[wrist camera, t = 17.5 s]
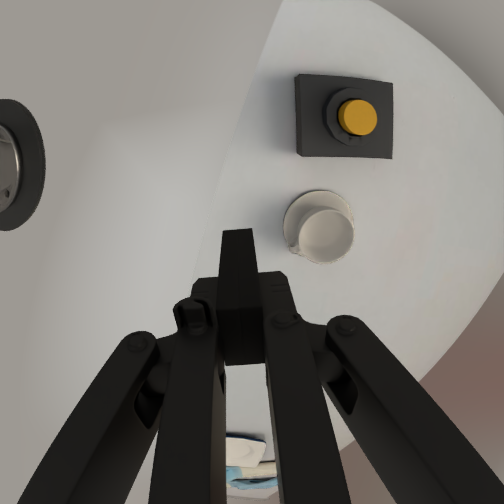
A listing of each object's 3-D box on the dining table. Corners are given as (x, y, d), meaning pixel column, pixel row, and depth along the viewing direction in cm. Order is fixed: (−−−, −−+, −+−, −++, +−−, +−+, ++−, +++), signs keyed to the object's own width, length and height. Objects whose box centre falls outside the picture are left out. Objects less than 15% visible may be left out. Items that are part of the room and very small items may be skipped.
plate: (190, 457, 71) (189, 464, 68) (187, 427, 62) (186, 436, 60) (258, 461, 73) (258, 468, 70) (269, 432, 64) (270, 440, 61)
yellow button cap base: (296, 153, 36) (304, 158, 31) (294, 77, 32) (302, 71, 27) (381, 155, 36) (398, 161, 32) (381, 84, 32) (399, 82, 27)
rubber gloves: (283, 483, 84) (285, 497, 79) (198, 486, 85) (198, 500, 79) (281, 459, 72) (283, 476, 67) (177, 462, 73) (175, 478, 67)
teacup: (337, 177, 37) (349, 186, 33) (360, 238, 41) (372, 253, 37) (270, 209, 39) (273, 222, 35) (299, 267, 43) (305, 285, 39)
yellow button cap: (338, 133, 31) (343, 134, 29) (337, 99, 29) (343, 98, 27) (369, 134, 31) (377, 136, 29) (369, 101, 29) (377, 101, 27)
